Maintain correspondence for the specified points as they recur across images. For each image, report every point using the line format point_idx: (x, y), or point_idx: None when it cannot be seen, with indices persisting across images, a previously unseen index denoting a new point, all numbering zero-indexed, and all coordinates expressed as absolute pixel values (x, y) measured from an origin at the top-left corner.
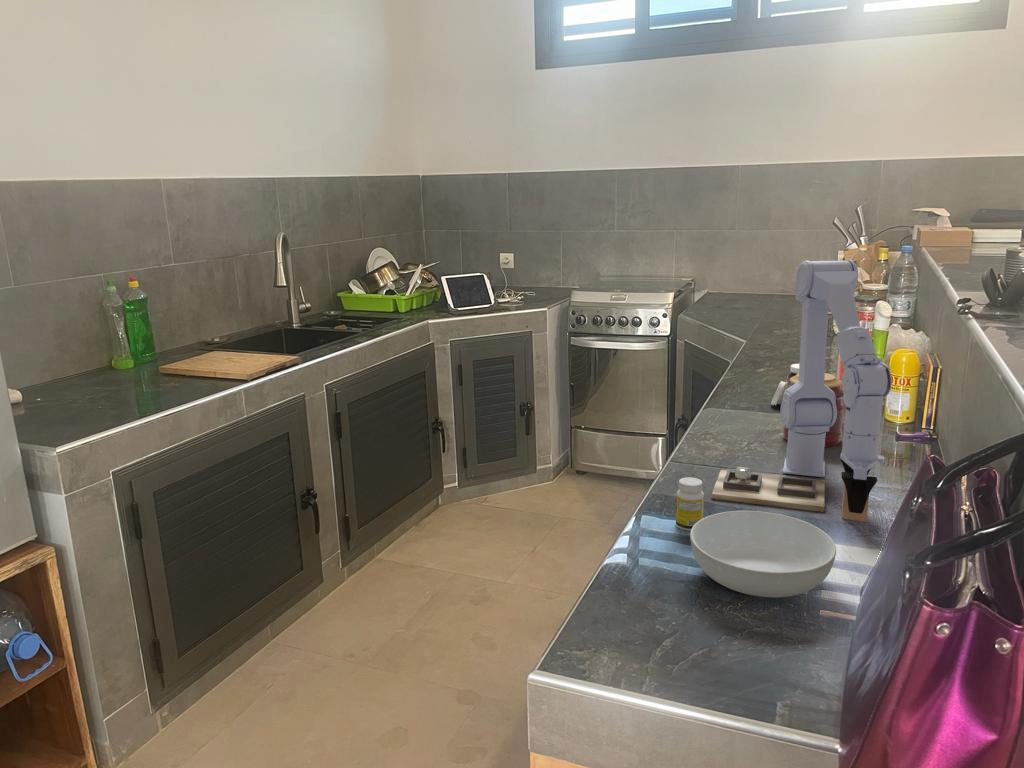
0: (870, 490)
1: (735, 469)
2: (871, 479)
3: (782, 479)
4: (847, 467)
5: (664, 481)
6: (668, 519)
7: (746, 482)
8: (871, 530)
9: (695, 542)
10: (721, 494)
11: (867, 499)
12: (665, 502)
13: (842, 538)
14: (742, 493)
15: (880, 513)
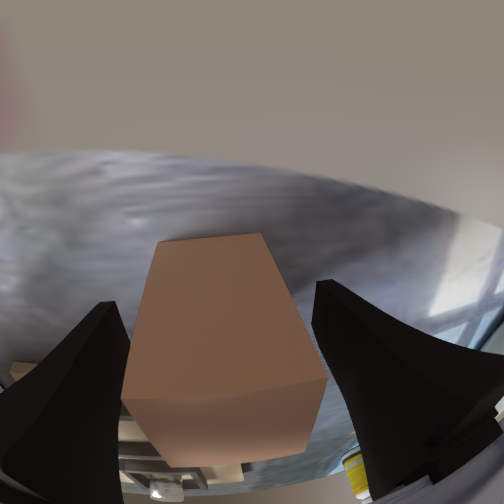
0: (449, 343)
1: (175, 501)
2: (496, 399)
3: None
4: (112, 480)
5: (200, 495)
6: (338, 464)
7: (177, 477)
8: (347, 211)
9: (500, 411)
10: (241, 476)
11: (290, 300)
12: (280, 482)
13: (411, 287)
14: (219, 468)
15: (130, 181)
